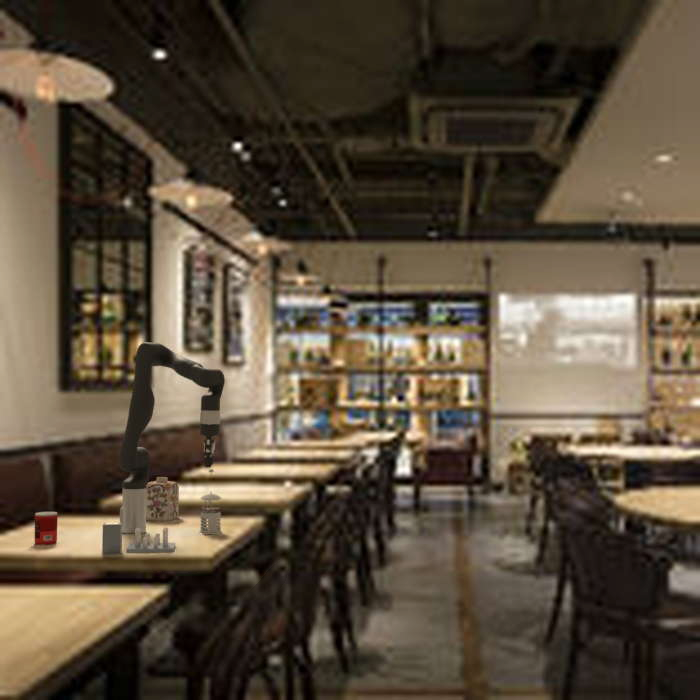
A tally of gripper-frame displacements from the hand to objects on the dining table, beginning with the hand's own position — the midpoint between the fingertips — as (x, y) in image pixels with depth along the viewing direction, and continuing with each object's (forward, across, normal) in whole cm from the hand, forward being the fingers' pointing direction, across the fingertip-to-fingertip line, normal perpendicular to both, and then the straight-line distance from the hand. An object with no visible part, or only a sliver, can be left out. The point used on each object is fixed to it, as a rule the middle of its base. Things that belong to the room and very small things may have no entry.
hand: (209, 466), depth 356 cm
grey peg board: (+28, +16, -18) cm, 37 cm away
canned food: (+29, +2, -58) cm, 65 cm away
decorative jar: (+29, -59, -24) cm, 70 cm away
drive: (+28, +23, -31) cm, 48 cm away
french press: (+28, -21, -1) cm, 35 cm away
